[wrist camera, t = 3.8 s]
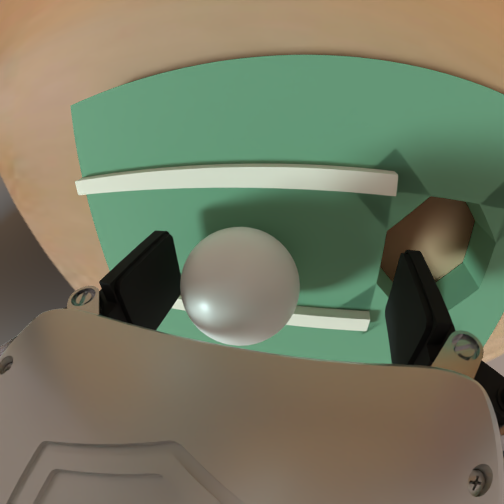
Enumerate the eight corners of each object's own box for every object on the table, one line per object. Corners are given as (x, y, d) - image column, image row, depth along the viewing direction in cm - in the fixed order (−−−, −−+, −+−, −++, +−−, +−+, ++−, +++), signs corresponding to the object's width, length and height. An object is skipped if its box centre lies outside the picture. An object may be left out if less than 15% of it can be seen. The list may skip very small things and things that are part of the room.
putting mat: (100, 100, 12) (62, 107, 10) (526, 113, 7) (560, 123, 4) (152, 313, 20) (132, 340, 18) (460, 341, 15) (471, 374, 12)
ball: (143, 263, 8) (289, 301, 7) (207, 199, 11) (315, 216, 10) (172, 346, 11) (276, 380, 9) (215, 278, 14) (302, 299, 13)
